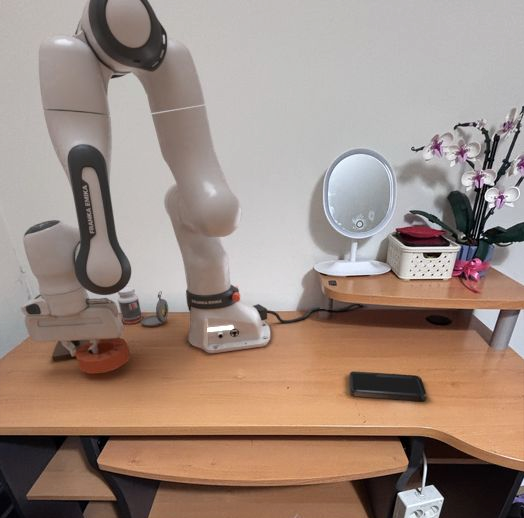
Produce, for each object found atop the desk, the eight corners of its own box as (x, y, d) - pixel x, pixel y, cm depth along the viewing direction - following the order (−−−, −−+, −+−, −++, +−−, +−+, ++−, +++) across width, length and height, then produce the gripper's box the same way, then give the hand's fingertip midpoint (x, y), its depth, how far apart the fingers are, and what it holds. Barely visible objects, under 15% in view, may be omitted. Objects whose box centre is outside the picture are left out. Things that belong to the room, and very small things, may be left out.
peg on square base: (99, 337, 105) (87, 295, 99) (95, 355, 97) (82, 310, 90) (60, 343, 103) (45, 301, 96) (53, 361, 94) (37, 316, 88)
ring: (134, 346, 94) (132, 335, 92) (121, 371, 84) (117, 359, 83) (90, 349, 94) (86, 337, 93) (71, 374, 85) (67, 362, 83)
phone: (427, 397, 75) (350, 391, 78) (426, 401, 76) (350, 395, 78) (420, 375, 82) (349, 370, 84) (419, 379, 82) (349, 374, 85)
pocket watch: (140, 320, 114) (134, 289, 109) (168, 315, 117) (163, 284, 112) (144, 331, 107) (137, 299, 102) (173, 325, 110) (168, 293, 105)
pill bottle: (146, 319, 115) (139, 288, 110) (129, 325, 111) (122, 294, 106) (135, 314, 118) (129, 284, 113) (119, 320, 114) (111, 289, 109)
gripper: (119, 292, 84) (133, 345, 91) (28, 296, 84) (49, 349, 91) (109, 303, 79) (125, 359, 86) (12, 308, 79) (36, 363, 86)
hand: (85, 354), depth 89 cm, fingers closed on ring, 3 cm apart
